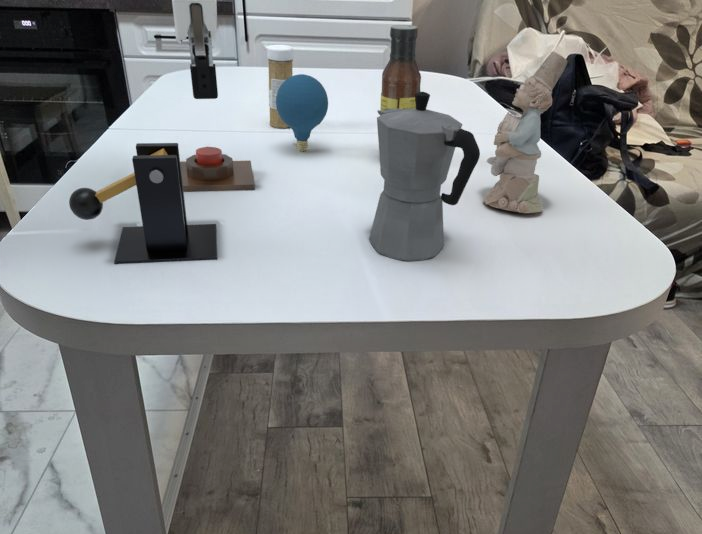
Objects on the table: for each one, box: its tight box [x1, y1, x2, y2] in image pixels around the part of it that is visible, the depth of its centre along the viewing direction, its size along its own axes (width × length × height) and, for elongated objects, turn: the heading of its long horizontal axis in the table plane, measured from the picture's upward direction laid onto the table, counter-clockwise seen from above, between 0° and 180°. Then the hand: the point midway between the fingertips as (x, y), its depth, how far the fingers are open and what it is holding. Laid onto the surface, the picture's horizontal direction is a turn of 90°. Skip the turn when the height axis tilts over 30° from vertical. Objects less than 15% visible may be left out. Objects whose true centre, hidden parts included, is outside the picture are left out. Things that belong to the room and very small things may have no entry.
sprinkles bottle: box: [266, 44, 294, 129], centre depth 112 cm, size 5×5×13 cm
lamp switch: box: [113, 142, 218, 265], centre depth 69 cm, size 11×9×12 cm
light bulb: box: [276, 73, 329, 152], centre depth 101 cm, size 8×8×12 cm
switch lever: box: [68, 148, 168, 221], centre depth 67 cm, size 12×3×3 cm, turn 101°
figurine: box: [482, 51, 568, 214], centre depth 83 cm, size 9×8×20 cm
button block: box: [180, 153, 256, 193], centre depth 89 cm, size 12×10×4 cm
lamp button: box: [195, 146, 223, 166], centre depth 88 cm, size 4×4×2 cm
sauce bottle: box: [379, 24, 422, 110], centre depth 97 cm, size 6×6×20 cm
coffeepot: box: [368, 91, 481, 262], centre depth 71 cm, size 15×9×18 cm, turn 39°
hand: (205, 97), depth 83 cm, fingers closed
